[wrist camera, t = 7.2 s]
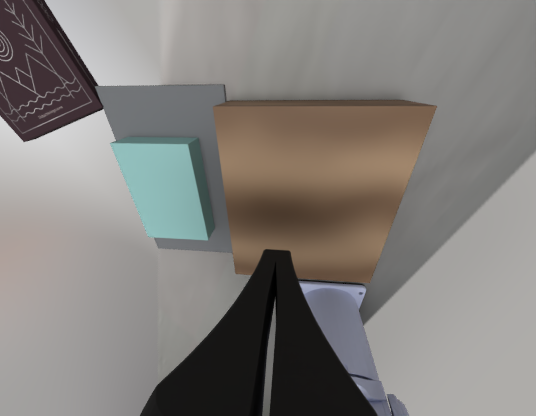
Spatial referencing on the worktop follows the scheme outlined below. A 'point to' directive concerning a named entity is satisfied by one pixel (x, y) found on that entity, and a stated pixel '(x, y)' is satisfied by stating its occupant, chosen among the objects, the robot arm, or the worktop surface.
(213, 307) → the worktop surface
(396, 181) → the brown flat block
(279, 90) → the worktop surface
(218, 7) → the worktop surface
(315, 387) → the robot arm
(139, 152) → the teal rectangular block
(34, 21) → the chocolate bar
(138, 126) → the mat
